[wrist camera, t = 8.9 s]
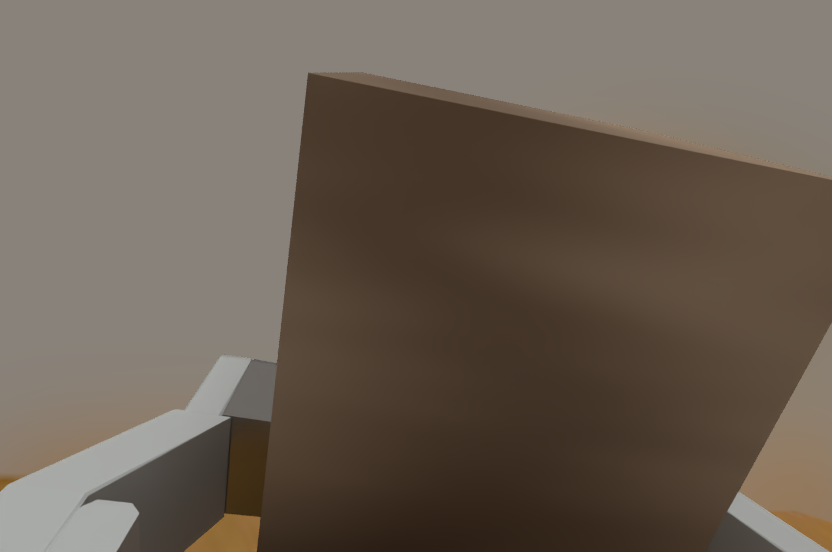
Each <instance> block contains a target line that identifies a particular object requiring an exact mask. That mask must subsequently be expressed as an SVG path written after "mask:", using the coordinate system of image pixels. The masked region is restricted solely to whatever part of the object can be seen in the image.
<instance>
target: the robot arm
mask: <svg viewBox="0 0 832 552" xmlns="http://www.w3.org/2000/svg"><path fill="white" fill-rule="evenodd" d="M276 369H277V363H273V362H267V361H261V360H256V359H254V360H252V359H250V358H244V357H237V356H230V355H223V356H221V357H219V358H218V360H217V362H216V363H215V365H214V366H213V367H212V369H211V370H210V372H209V373H208V375H207V376H206V378H205V380H204V381H203V382H202V384H201V385H200V387H199V388H198V390H197V392H196V393H195V395H194V396H193V398H192V399H191V401H190V402H189V404H188V405H187V407H186V408H185V410H177V409H174V410H172V411H170V412H167V413H165V414H163V415H161V416H159V417H156V418H154V419H152V420H150V421H147V422H145V423H143V424H141V425H139V426H136V427H134V428H132V429H130V430H128V431H125V432H123V433H121V434H119V435H117V436H114V437H112V438H110V439H108V440H106V441H103V442H101V443H99V444H97V445H94V446H92V447H90V448H88V449H86V450H83V451H81V452H79V453H77V454H74V455H72V456H70V457H68V458H66V459H64V460H61V461H59V462H57V463H54V464H52V465H50V466H48V467H46V468H43V469H41V470H39V471H37V472H35V473H32V474H30V475H28V476H26V477H23V478H21V479H19V480H17V481H15V482H12V483H10V484H8V485H7V486H6V487H5V488H4V489H3V490H2V491H1V492H0V552H184V551H185V550H186V549H187V548H188V547H189V546H191V545H192V544H193V543H194V542H195V541H196V540H197V539H199V538H200V537H201V536H202V535H203V534H204V533H206V532H207V531H208V530H209V529H210V528H211V527H213V526H214V525H215V524H216V523H217V522H218V521H219V520H221V519H222V518H223V517H224V513H226V514H236V515H246V516H257V517H261V510H262V500H263V491H264V482H265V472H266V463H267V454H268V444H269V435H270V426H271V416H272V407H273V398H274V388H275V379H276ZM705 552H829V551H828V550H826V549H825V548H823V547H822V546H820V545H818V544H817V543H815V542H814V541H812V540H811V539H809V538H808V537H806V536H805V535H803V534H802V533H800V532H799V531H797V530H796V529H794V528H793V527H791V526H790V525H788V524H787V523H785V522H784V521H782V520H781V519H779V518H778V517H776V516H775V515H773V514H772V513H770V512H769V511H767V510H766V509H764V508H763V507H761V506H759V505H758V504H756V503H755V502H753V501H752V500H750V499H749V498H747V497H746V496H744V495H743V494H741V493H740V492H738V493H737V495H736V497H735V499H734V500H733V502H732V504H731V506H730V508H729V509H728V511H727V513H726V515H725V517H724V518H723V520H722V522H721V524H720V526H719V528H718V529H717V531H716V533H715V535H714V537H713V538H712V540H711V542H710V544H709V546H708V547H707V549H706V551H705Z"/></svg>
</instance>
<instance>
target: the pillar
mask: <svg viewBox="0 0 832 552" xmlns="http://www.w3.org/2000/svg"><path fill="white" fill-rule="evenodd" d="M831 323H832V177H830V176H826V175H822V174H818V173H814V172H810V171H806V170H802V169H798V168H794V167H790V166H786V165H781V164H777V163H774V162H770V161H766V160H761V159H757V158H753V157H749V156H745V155H741V154H736V153H733V152H729V151H725V150H721V149H717V148H713V147H709V146H705V145H700V144H696V143H692V142H688V141H684V140H680V139H676V138H672V137H667V136H664V135H660V134H656V133H652V132H648V131H643V130H639V129H633V128H628V127H624V126H618V125H614V124H609V123H605V122H600V121H595V120H590V119H585V118H580V117H575V116H570V115H566V114H561V113H556V112H551V111H546V110H541V109H536V108H531V107H527V106H522V105H517V104H512V103H507V102H503V101H498V100H493V99H488V98H483V97H478V96H474V95H469V94H464V93H459V92H454V91H449V90H445V89H440V88H435V87H430V86H425V85H420V84H415V83H410V82H406V81H401V80H396V79H391V78H386V77H381V76H376V75H372V74H367V73H308V80H307V90H306V99H305V108H304V117H303V126H302V136H301V146H300V155H299V164H298V173H297V183H296V192H295V201H294V210H293V220H292V229H291V239H290V248H289V257H288V266H287V276H286V285H285V295H284V304H283V313H282V323H281V332H280V341H279V351H278V360H277V369H276V379H275V388H274V398H273V407H272V416H271V426H270V435H269V444H268V454H267V463H266V472H265V482H264V491H263V500H262V510H261V519H260V529H259V538H258V547H257V552H705V551H706V549H707V547H708V546H709V544H710V542H711V540H712V538H713V537H714V535H715V533H716V531H717V529H718V528H719V526H720V524H721V522H722V520H723V518H724V517H725V515H726V513H727V511H728V509H729V508H730V506H731V504H732V502H733V500H734V499H735V497H736V495H737V493H738V491H739V489H740V488H741V486H742V484H743V482H744V480H745V478H746V477H747V475H748V473H749V471H750V469H751V468H752V466H753V464H754V462H755V460H756V458H757V457H758V455H759V453H760V451H761V450H762V448H763V446H764V444H765V442H766V440H767V439H768V437H769V435H770V433H771V431H772V430H773V428H774V426H775V424H776V422H777V421H778V419H779V417H780V415H781V413H782V411H783V410H784V408H785V406H786V404H787V402H788V401H789V399H790V397H791V395H792V393H793V392H794V390H795V388H796V386H797V384H798V382H799V381H800V379H801V377H802V375H803V373H804V372H805V370H806V368H807V366H808V364H809V362H810V361H811V359H812V357H813V355H814V353H815V352H816V350H817V348H818V346H819V344H820V343H821V341H822V339H823V337H824V335H825V333H826V332H827V330H828V328H829V326H830V324H831Z"/></svg>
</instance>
